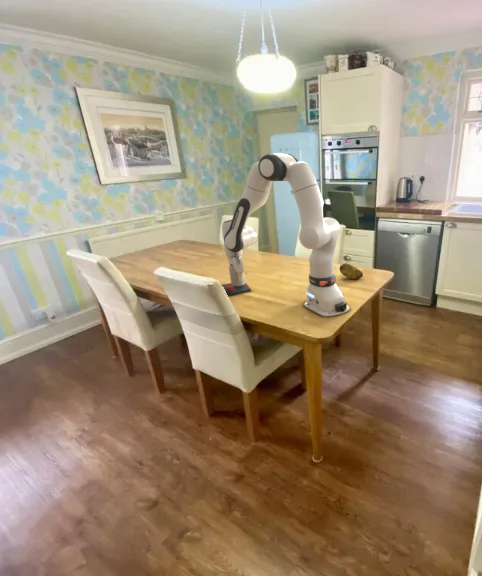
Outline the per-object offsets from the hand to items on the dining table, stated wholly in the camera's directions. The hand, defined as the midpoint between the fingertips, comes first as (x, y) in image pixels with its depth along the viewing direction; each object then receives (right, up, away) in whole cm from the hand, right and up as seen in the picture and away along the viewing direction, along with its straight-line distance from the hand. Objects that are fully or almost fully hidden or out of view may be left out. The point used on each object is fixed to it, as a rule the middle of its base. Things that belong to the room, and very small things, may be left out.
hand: (237, 276), depth 170 cm
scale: (-1, -7, 0) cm, 7 cm away
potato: (+62, -1, +11) cm, 63 cm away
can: (0, -5, +2) cm, 5 cm away
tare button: (-2, -7, -7) cm, 10 cm away
